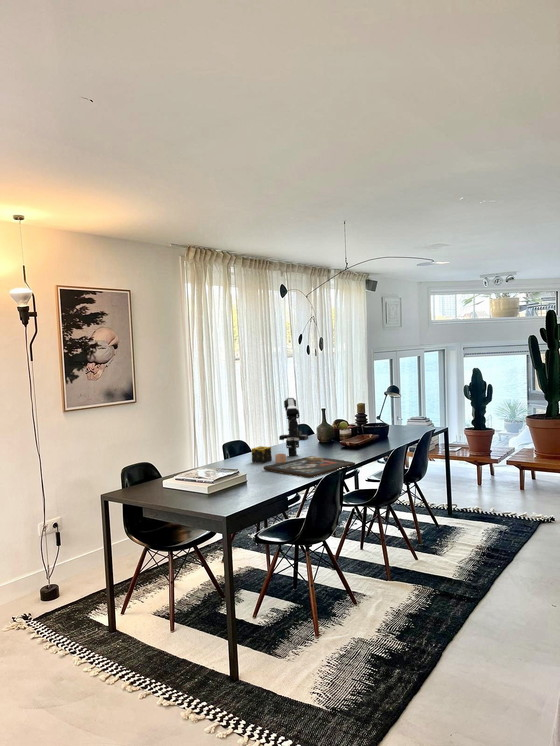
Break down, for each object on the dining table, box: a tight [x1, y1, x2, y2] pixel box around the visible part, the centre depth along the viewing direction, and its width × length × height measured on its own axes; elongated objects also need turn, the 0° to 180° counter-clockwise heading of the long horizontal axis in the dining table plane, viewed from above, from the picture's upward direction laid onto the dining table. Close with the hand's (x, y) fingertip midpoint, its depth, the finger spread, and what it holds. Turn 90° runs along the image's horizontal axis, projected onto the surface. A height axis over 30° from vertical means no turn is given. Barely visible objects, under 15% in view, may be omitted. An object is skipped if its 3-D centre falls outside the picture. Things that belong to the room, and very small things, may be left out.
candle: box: [251, 445, 273, 464], centre depth 378 cm, size 10×10×10 cm
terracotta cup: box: [274, 453, 287, 464], centre depth 372 cm, size 7×7×6 cm
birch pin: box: [306, 456, 323, 462], centre depth 359 cm, size 3×3×10 cm
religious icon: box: [263, 455, 356, 478], centre depth 350 cm, size 40×45×3 cm
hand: (294, 450), depth 364 cm, fingers closed
